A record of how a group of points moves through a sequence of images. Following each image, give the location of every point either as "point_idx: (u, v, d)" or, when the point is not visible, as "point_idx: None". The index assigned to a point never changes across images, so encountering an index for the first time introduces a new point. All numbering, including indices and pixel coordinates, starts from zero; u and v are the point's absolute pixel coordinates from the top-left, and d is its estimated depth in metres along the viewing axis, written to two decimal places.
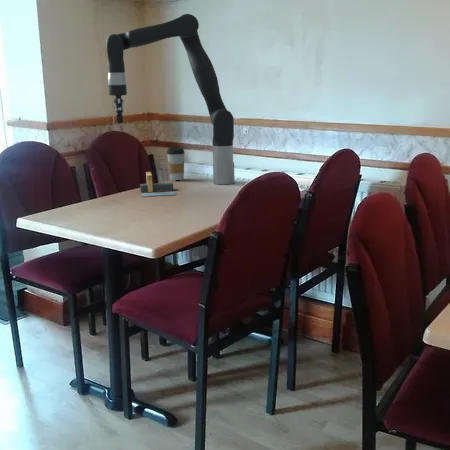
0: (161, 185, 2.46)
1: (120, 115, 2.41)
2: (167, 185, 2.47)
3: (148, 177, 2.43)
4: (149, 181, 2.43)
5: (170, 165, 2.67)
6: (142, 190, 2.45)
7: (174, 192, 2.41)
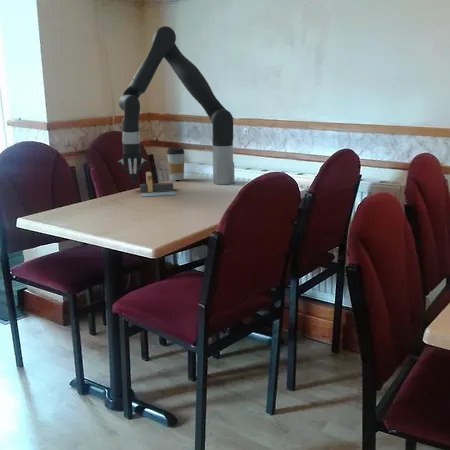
0: (161, 185, 2.46)
1: None
2: (167, 185, 2.47)
3: (148, 177, 2.43)
4: (149, 181, 2.43)
5: (170, 165, 2.67)
6: (142, 190, 2.45)
7: (174, 192, 2.41)
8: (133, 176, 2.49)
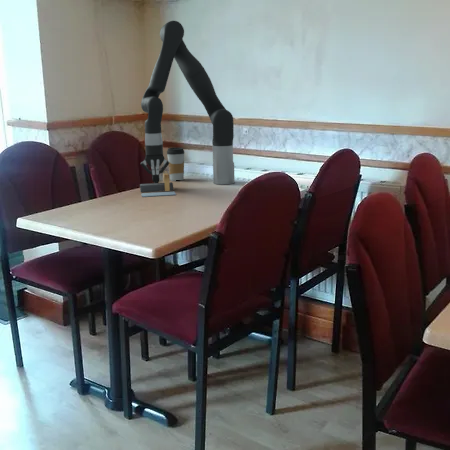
0: (161, 185, 2.46)
1: (158, 175, 2.52)
2: None
3: (165, 176, 2.44)
4: (166, 180, 2.44)
5: (170, 165, 2.67)
6: (142, 190, 2.45)
7: (174, 192, 2.41)
8: (156, 177, 2.51)
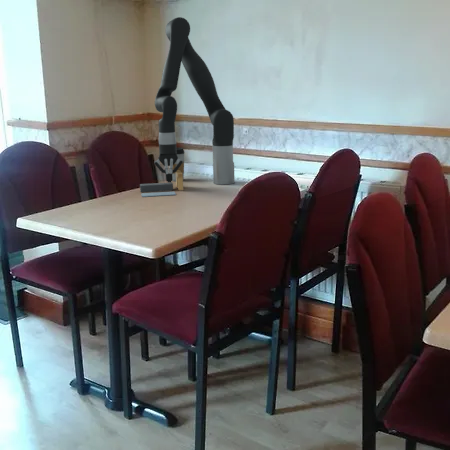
0: (161, 185, 2.46)
1: None
2: (167, 185, 2.47)
3: (179, 175, 2.45)
4: (180, 179, 2.45)
5: None
6: (142, 190, 2.45)
7: (174, 192, 2.41)
8: (169, 176, 2.52)
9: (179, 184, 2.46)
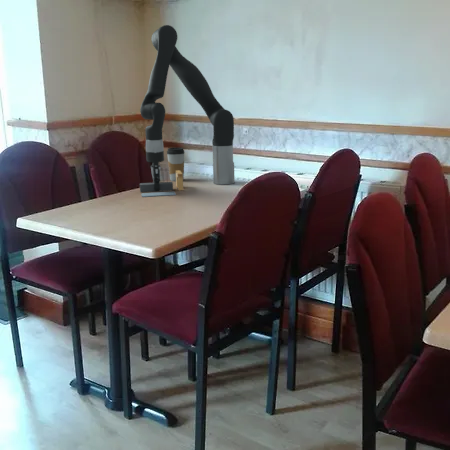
0: (161, 184, 2.46)
1: None
2: (167, 184, 2.47)
3: (179, 175, 2.45)
4: (180, 179, 2.45)
5: (170, 165, 2.67)
6: (142, 189, 2.45)
7: (174, 192, 2.41)
8: None
9: (179, 184, 2.46)
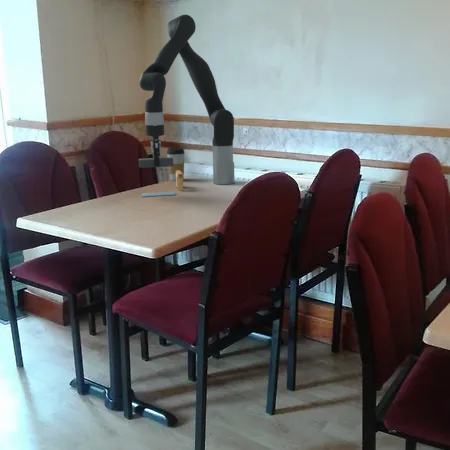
0: (160, 160, 2.34)
1: None
2: (167, 160, 2.35)
3: (179, 175, 2.45)
4: (180, 179, 2.45)
5: None
6: (140, 165, 2.33)
7: (174, 192, 2.41)
8: None
9: (179, 184, 2.46)
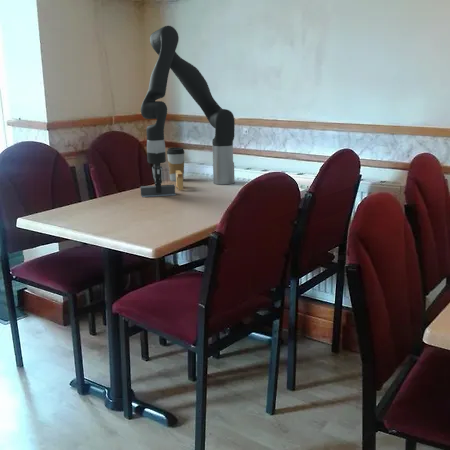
0: (162, 187, 2.37)
1: None
2: (168, 187, 2.37)
3: (179, 175, 2.45)
4: (180, 179, 2.45)
5: (170, 165, 2.67)
6: (142, 192, 2.36)
7: None
8: None
9: (179, 184, 2.46)
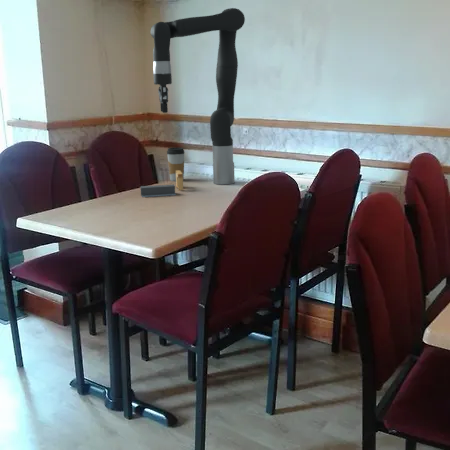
0: (162, 187, 2.37)
1: None
2: (168, 187, 2.37)
3: (179, 175, 2.45)
4: (180, 179, 2.45)
5: (170, 165, 2.67)
6: (142, 192, 2.36)
7: None
8: None
9: (179, 184, 2.46)
